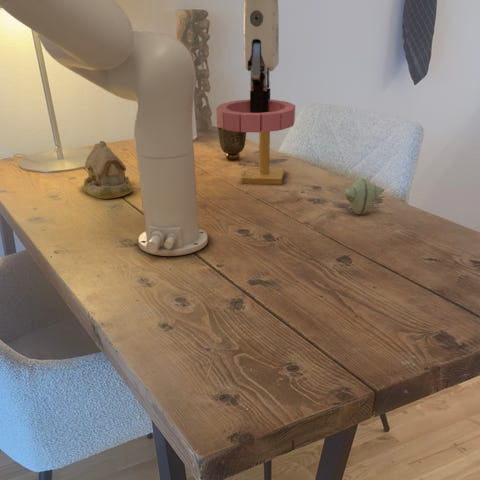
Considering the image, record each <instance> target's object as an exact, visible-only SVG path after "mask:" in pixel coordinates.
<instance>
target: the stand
mask: <svg viewBox="0 0 480 480" xmlns="http://www.w3.org/2000/svg"><path fill="white" fill-rule="evenodd" d="M258 140H259V141H258V167H256V166H253V167H251V166H248V167H247V168H246V170H245V173H244V174H243V177H242V184H249V185H251V184H252V185H253V184H254V185H257V184H258V185H282V184H283V180H284V176H285V172H286V169H285V167H270V157H271V153H270V151H271V131H270V132H261V131H260V133H259V132H258Z"/></svg>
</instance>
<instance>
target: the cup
mask: <svg viewBox="0 0 480 480" xmlns="http://www.w3.org/2000/svg"><path fill="white" fill-rule="evenodd" d="M216 126H217V125H216ZM216 128H217V133H218V141H219V146H220V149H221V150H222V151H223V153H224V154H225V159H226V160H228V161H233V162H234V161H238V160H239V159H240V157H241V154H240V153H242V152H243V150H244V149H245V146H246V139H247V132H236V131H230V130H225V129H222V128H220V127H219V126H217V127H216Z"/></svg>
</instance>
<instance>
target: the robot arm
mask: <svg viewBox="0 0 480 480" xmlns="http://www.w3.org/2000/svg"><path fill="white" fill-rule="evenodd" d="M0 7H1V8H2V9H3V10H4V11H5V12H6V13H7V14H8V15H10V16H11V17H12V18H14V19H15V20H17V21H18V22H19V23H22V24H23V25H24V26H26V27H27V28H29V29H30V30H32V31H34V32H35V33H36V34H37V36H38V38H39V41H40V43H41V45H42V47H43V49H44V50H45V51H46V52H47V53H48V55H49V56H50V57H51V58H52V59H53V60H54V61H56V62H57V63H58V64H59V65H61V66H63V67H64V68H66V69H67V70H70V71H71V72H72V73H75V74H76V75H78V76H80V77H81V78H83V79H84V80H87V81H88V82H90V83H92V84H94V85H96V86H97V87H99V88H101V89H103V90H104V91H106V92H108V93H110V94H111V95H113V96H116V97H118V98H120V99H124V100H127V101H131V102H136V103H137V105H136V114H135V119H134V127H133V128H134V129H133V139H134V149H135V154H136V162H137V170H138V178H139V179H138V180H139V187H140V194H141V205H142V211H143V212H142V213H143V220H144V228H145V229H144V230H145V231H144V232H142V233H141V234H140V235H139V236H138V239H137V242H138V247H139V249H141V251H143V252H145V253H147V254H150V255H155V256H159V257H161V256H162V257H177V256H185V255H190V254H193V253H196V252H197V251H198V252H199V251H200V250H202V249H203V248H205V247H206V246H207V244H208V242H209V241H208V240H209V236H208V234H207V231H205V230H204V229H201V228H199V227H200V226H199V211H198V198H197V197H198V196H197V181H196V180H197V179H196V164H195V150H194V133H193V132H194V131H193V109H194V99H195V90H196V68H195V63H194V59H193V57H192V54H191V53H190V51H189V50H188V48H187V47H186V45H185V44H183V42H181V41H180V40H179V39H178V38H175V37H174V36H172V35H170V34H166V33H162V32H153V31H140V30H139V31H138V30H133V26H132V23H131V20H130V18H129V16H128V15H127V13H126V12H125V11H124V9H123V7H121V6H120V4H119V3H118V2H117V1H116V0H0ZM279 18H280V17H279V0H243V51H244V55H243V56H244V68H245V70H246V71H248V72H250V91H249V100H250V113H264V112H268V101H269V100H271V88H270V81H271V80H270V78H271V76H270V75H271V72H273V71H274V70H275V69H276V68H277V66H278V65H279V61H280V50H279V47H280V46H279V44H280V43H279V39H280V38H279V34H280V33H279V32H280V31H279V29H280V28H279V27H280V26H279V24H280V21H279V20H280V19H279Z"/></svg>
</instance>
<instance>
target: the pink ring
mask: <svg viewBox="0 0 480 480" xmlns="http://www.w3.org/2000/svg"><path fill="white" fill-rule="evenodd" d="M215 109H216V110H215V111H216V113H215V115H216V126H218V127H219V128H222V129H225V130H230V131H236V132H246V133H258V134H259V133H260V131H261V132H270V133H271V132H279V131H283V130H286V129H290V128H293V127H294V125H295V122H296V105H295V104H294V103H291V102H289V101H286V100H279V99H278V100H277V99H270V100H269V101H268V112H264V113H250V99H239V100H232V101H228V102H224V103H223V102H222V103H220V104H218V106H217V107H216V108H215Z"/></svg>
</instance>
